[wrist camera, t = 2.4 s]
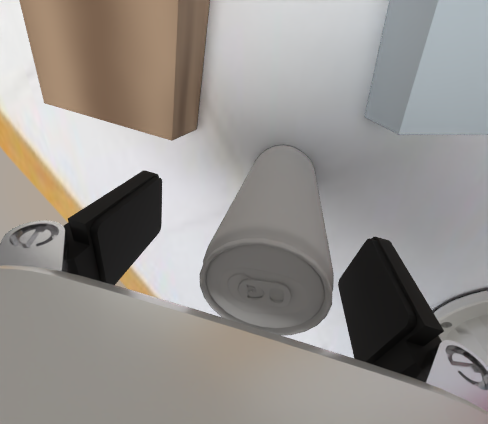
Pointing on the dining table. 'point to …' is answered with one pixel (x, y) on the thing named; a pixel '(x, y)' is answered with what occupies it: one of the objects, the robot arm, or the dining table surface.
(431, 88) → the grey-blue block
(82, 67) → the walnut block
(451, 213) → the dining table surface
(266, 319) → the beverage can
